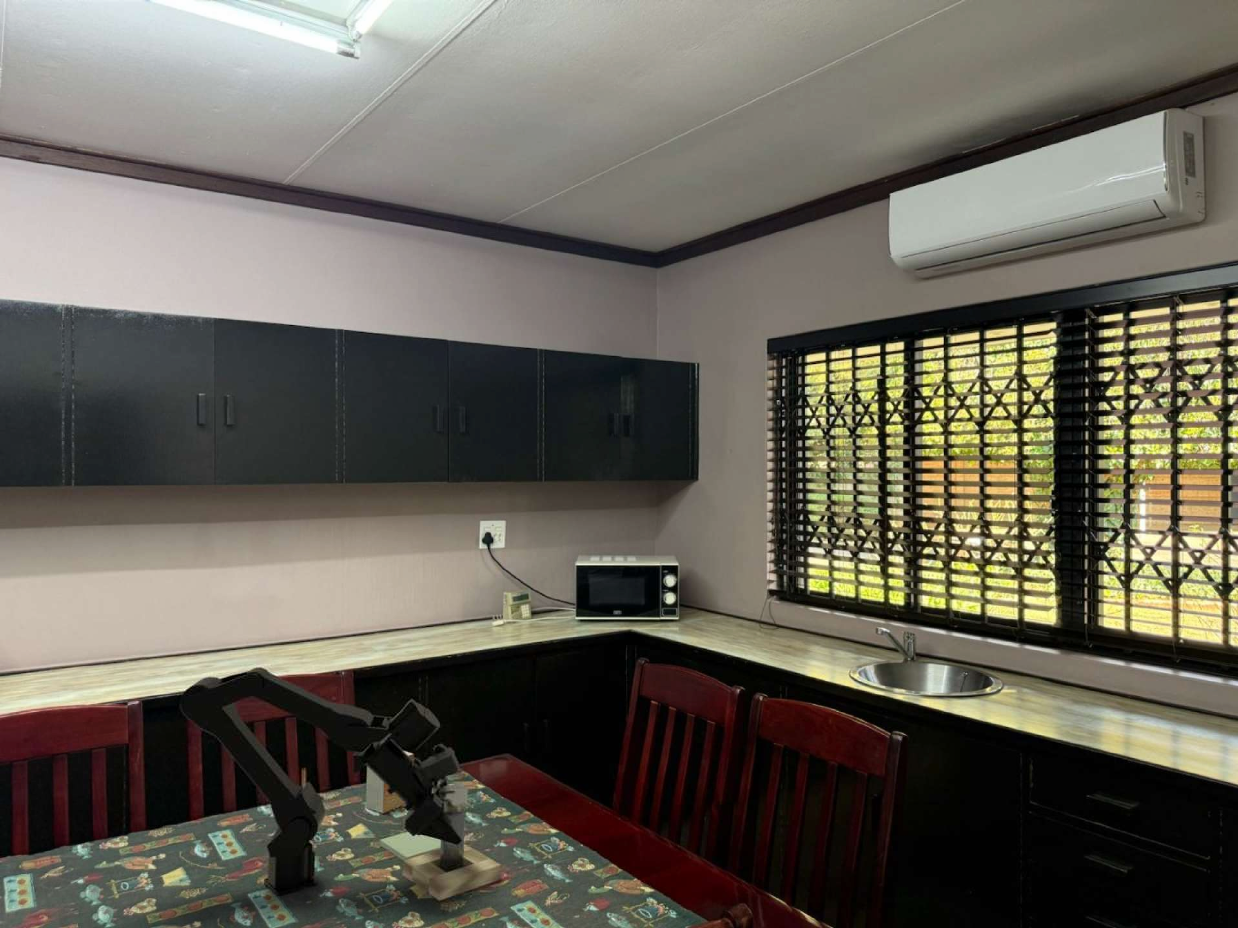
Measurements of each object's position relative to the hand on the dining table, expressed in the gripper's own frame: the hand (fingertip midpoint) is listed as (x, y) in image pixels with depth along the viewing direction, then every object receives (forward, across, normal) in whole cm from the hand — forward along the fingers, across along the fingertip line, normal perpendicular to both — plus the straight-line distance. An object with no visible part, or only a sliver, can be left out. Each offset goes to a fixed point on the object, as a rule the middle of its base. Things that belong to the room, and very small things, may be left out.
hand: (460, 831), depth 154 cm
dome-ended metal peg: (+4, 0, +6) cm, 8 cm away
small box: (-5, +35, +16) cm, 39 cm away
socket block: (+4, 0, +6) cm, 8 cm away
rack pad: (0, +14, +11) cm, 18 cm away
